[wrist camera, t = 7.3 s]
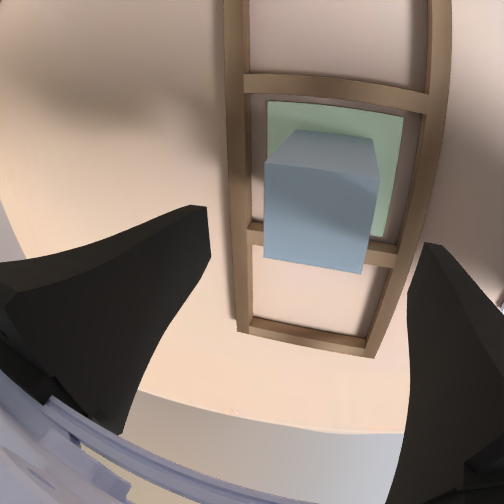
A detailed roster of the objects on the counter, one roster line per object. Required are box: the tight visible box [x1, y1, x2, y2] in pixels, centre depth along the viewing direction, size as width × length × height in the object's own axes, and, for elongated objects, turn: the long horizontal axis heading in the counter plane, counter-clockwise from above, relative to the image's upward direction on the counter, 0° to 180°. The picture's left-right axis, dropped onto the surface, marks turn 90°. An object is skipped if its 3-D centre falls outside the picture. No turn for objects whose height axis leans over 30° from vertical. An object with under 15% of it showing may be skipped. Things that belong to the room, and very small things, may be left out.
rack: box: [223, 0, 452, 359], centre depth 16 cm, size 11×27×1 cm, turn 0°
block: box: [263, 129, 380, 274], centre depth 13 cm, size 4×4×6 cm
